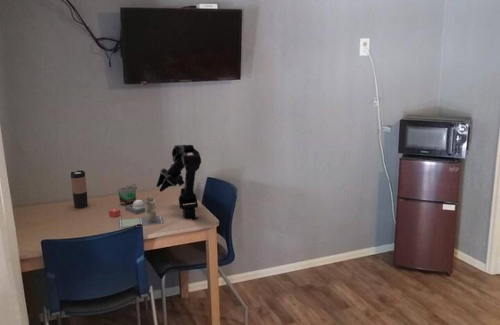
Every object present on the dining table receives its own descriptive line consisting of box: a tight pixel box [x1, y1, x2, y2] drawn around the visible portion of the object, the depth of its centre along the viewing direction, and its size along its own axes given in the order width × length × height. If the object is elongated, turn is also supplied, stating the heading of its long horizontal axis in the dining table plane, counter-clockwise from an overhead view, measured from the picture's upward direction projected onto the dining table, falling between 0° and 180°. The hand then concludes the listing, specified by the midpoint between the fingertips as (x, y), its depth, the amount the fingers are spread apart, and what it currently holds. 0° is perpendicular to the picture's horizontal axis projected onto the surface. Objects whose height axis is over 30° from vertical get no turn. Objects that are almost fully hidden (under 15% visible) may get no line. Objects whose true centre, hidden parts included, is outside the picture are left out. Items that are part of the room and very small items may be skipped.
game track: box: [118, 215, 165, 229], centre depth 240 cm, size 22×12×1 cm, turn 106°
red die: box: [108, 208, 121, 218], centre depth 248 cm, size 4×4×4 cm
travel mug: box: [70, 170, 89, 209], centre depth 264 cm, size 8×8×20 cm
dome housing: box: [124, 202, 145, 215], centre depth 257 cm, size 10×10×3 cm
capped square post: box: [144, 194, 157, 223], centre depth 239 cm, size 4×4×13 cm
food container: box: [117, 183, 138, 206], centre depth 269 cm, size 12×6×10 cm, turn 143°
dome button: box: [133, 199, 145, 209], centre depth 257 cm, size 6×6×6 cm
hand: (158, 189), depth 251 cm, fingers open, 9 cm apart
